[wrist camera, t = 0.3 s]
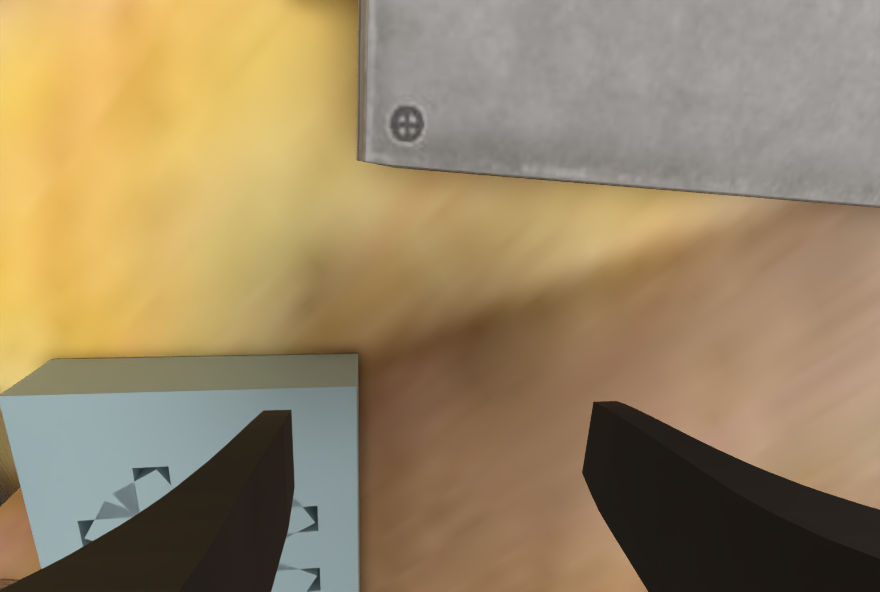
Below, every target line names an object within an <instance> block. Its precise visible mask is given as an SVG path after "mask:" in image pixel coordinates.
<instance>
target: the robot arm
mask: <svg viewBox="0 0 880 592" xmlns="http://www.w3.org/2000/svg"><path fill="white" fill-rule="evenodd" d="M582 473H583V476H584V478H585V481H586V483H587V485H588V488H589V490H590V493H591V495H592V497H593V499H594V501H595V503H596V506H597V508H598V510H599V512H600V513H601V515H602V517H603V519H604V520H605V522H606V524H607V525H608V527H609V529H610V530H611V532H612V533H613V535H614V537H615V538H616V540H617V542H618V543H619V545H620V547H621V548H622V550H623V551H624V553H625V555H626V556H627V558H628V559H629V561H630V563H631V564H632V566H633V568H634V569H635V571H636V572H637V574H638V576H639V577H640V579H641V580H642V582H643V584H644V585H645V587H646V589H647V590H648V592H880V510H879V509H875V508H872V507H868V506H865V505H862V504H858V503H855V502H852V501H849V500H846V499H843V498H840V497H836V496H833V495H830V494H827V493H824V492H821V491H818V490H815V489H812V488H810V487H807V486H804V485H801V484H798V483H796V482H793V481H791V480H788V479H786V478H783V477H780V476H778V475H775V474H773V473H770V472H767V471H765V470H762V469H760V468H758V467H755V466H753V465H751V464H748V463H746V462H744V461H742V460H739V459H737V458H735V457H733V456H731V455H728V454H726V453H724V452H722V451H720V450H717V449H715V448H713V447H711V446H709V445H707V444H705V443H703V442H701V441H699V440H697V439H695V438H693V437H691V436H689V435H687V434H685V433H683V432H681V431H679V430H677V429H675V428H673V427H671V426H669V425H667V424H665V423H663V422H661V421H659V420H657V419H655V418H653V417H651V416H649V415H647V414H645V413H643V412H641V411H639V410H637V409H635V408H633V407H630V406H628V405H626V404H623V403H620V402H618V401H608V402H594V403H593V409H592V415H591V421H590V428H589V434H588V440H587V446H586V453H585V459H584V465H583V471H582ZM294 488H295V483H294V459H293V435H292V411H291V410H263V411H262V412H261V413H260V414H259V415H258V416H257V417H255V418H254V419H253V420H252V421H251V422H250V423H249V424H248V425H247V426H246V427H245V428H244V429H243V430H242V431H240V432H239V433H238V434H237V435H236V436H235V437H234V438H233V439H232V440H231V441H230V442H229V443H228V444H227V445H225V446H224V447H223V448H222V449H221V450H220V451H219V452H218V453H217V454H215V455H214V456H213V457H212V458H211V459H210V460H209V461H207V462H206V463H205V464H204V465H202V466H201V467H200V468H199V469H198V470H196V471H195V472H194V473H193V474H191V475H190V476H189V477H188V478H186V479H185V480H184V481H183V482H181V483H180V484H179V485H178V486H177V487H175V488H174V489H172V490H171V491H170V492H168V493H167V494H166V495H164V496H163V497H162V498H160V499H159V500H157V501H156V502H154V503H153V504H152V505H150V506H149V507H147V508H146V509H144V510H143V511H141V512H140V513H138V514H137V515H135V516H134V517H132V518H131V519H129V520H127V521H126V522H124V523H123V524H121V525H119V526H118V527H116V528H114V529H113V530H111V531H109V532H107V533H106V534H104V535H102V536H100V537H99V538H97V539H95V540H94V541H92V542H90V543H88V544H87V545H85V546H83V547H82V548H80V549H78V550H76V551H75V552H73V553H71V554H69V555H68V556H66V557H64V558H62V559H60V560H58V561H56V562H54V563H52V564H50V565H49V566H47V567H45V568H43V569H41V570H39V571H37V572H35V573H33V574H31V575H29V576H27V577H25V578H23V579H21V580H19V581H17V582H14V583H12V584H10V585H8V586H6V587H4V588H2V589H0V592H271V591H272V587H273V584H274V580H275V576H276V573H277V569H278V566H279V562H280V558H281V555H282V551H283V547H284V544H285V540H286V536H287V532H288V528H289V522H290V516H291V509H292V502H293V495H294Z"/></svg>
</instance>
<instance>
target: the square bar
mask: <svg viewBox="0 0 880 592" xmlns="http://www.w3.org/2000/svg"><path fill="white" fill-rule="evenodd" d="M19 487H20V482H19V478H18V474H17V470H16V467H15V463H14V459H13V455H12V451H11V447H10V443H9V439H8V435H7V431H6V427H5V423H4V419H3V415H2V411H1V407H0V506H1V505H2V504H3V503H4V502H5V501H6V500H7V499H8V498H9V497H10V496H11V495H12V494H13V493H14V492H15V491H16V490H17V489H18V488H19Z"/></svg>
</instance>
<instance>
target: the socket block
mask: <svg viewBox="0 0 880 592" xmlns="http://www.w3.org/2000/svg"><path fill="white" fill-rule="evenodd" d="M0 407H1V411H2V415H3V419H4V423H5V427H6V431H7V435H8V439H9V443H10V447H11V451H12V455H13V459H14V463H15V467H16V470H17V474H18V478H19V482H20V486H21V490H22V494H23V498H24V502H25V506H26V510H27V514H28V518H29V522H30V526H31V530H32V534H33V537H34V541H35V545H36V549H37V553H38V557H39V561H40V565H41V569H43V568H45V567H47V566H49V565H50V564H52V563H54V562H56V561H58V560H60V559H62V558H64V557H66V556H68V555H69V554H71V553H73V552H75V551H76V550H78V549H80V548H82V547H83V546H85V545H87V544H88V543H90V542H92V541H94V540H95V539H97V538H99V537H100V536H102V535H104V534H106V533H107V532H109V531H111V530H113V529H114V528H116V527H118V526H119V525H121V524H123V523H124V522H126V521H127V520H129V519H131V518H132V517H134V516H135V515H137V514H138V513H140V512H141V511H143V510H144V509H146V508H147V507H149V506H150V505H152V504H153V503H154V502H156V501H157V500H159V499H160V498H162V497H163V496H164V495H166V494H167V493H168V492H170V491H171V490H172V489H174V488H175V487H177V486H178V485H179V484H180V483H181V482H183V481H184V480H185V479H186V478H188V477H189V476H190V475H191V474H193V473H194V472H195V471H196V470H198V469H199V468H200V467H201V466H202V465H204V464H205V463H206V462H207V461H209V460H210V459H211V458H212V457H213V456H214V455H215V454H217V453H218V452H219V451H220V450H221V449H222V448H223V447H224V446H225V445H227V444H228V443H229V442H230V441H231V440H232V439H233V438H234V437H235V436H236V435H237V434H238V433H239V432H240V431H242V430H243V429H244V428H245V427H246V426H247V425H248V424H249V423H250V422H251V421H252V420H253V419H254V418H255V417H257V416H258V415H259V414H260V413H261V412H262V411H263V410H291V411H292V435H293V459H294V483H295V488H294V495H293V502H292V509H291V516H290V522H289V528H288V532H287V536H286V540H285V544H284V547H283V551H282V555H281V558H280V562H279V566H278V569H277V573H276V576H275V580H274V584H273V587H272V591H271V592H360V529H359V399H358V354H306V355H251V356H196V357H140V358H85V359H51V360H50V361H48V362H47V363H46V364H44V365H43V366H41V367H40V368H38V369H37V370H35V371H34V372H32V373H31V374H30V375H28V376H27V377H25V378H24V379H22V380H21V381H19V382H18V383H16V384H15V385H14V386H12V387H11V388H9V389H8V390H6V391H5V392H3V393H2V394H0Z"/></svg>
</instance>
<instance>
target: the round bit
mask: <svg viewBox="0 0 880 592" xmlns="http://www.w3.org/2000/svg"><path fill="white" fill-rule="evenodd" d="M14 582H17V580H7V579H5V580H0V589H2V588H4V587H6V586H8V585H10V584H12V583H14Z"/></svg>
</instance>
